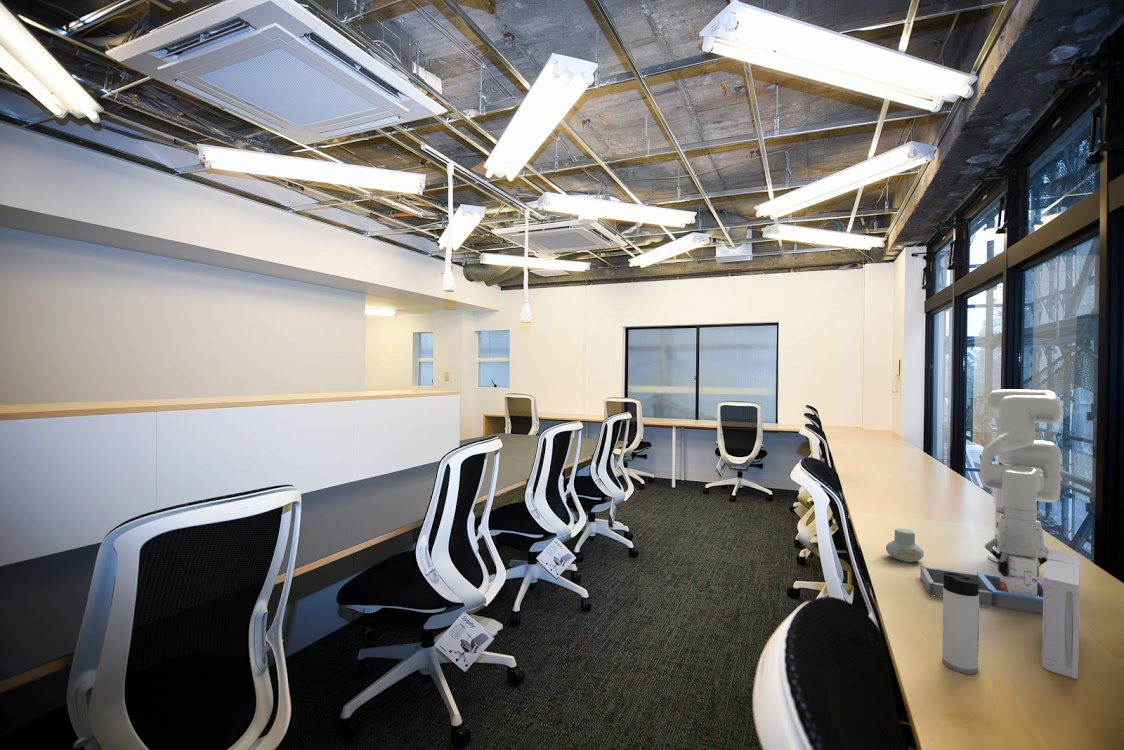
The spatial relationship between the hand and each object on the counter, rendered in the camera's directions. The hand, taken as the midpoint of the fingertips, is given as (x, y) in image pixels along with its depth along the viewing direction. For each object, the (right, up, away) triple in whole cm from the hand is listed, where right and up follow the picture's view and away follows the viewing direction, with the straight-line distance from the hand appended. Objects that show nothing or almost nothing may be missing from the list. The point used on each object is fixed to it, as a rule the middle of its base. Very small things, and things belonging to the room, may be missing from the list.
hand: (1017, 576), depth 147 cm
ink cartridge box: (0, -6, 0) cm, 6 cm away
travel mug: (-43, -7, -34) cm, 55 cm away
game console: (-14, -7, -27) cm, 31 cm away
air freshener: (-11, -7, +33) cm, 35 cm away
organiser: (-7, -7, +3) cm, 10 cm away
